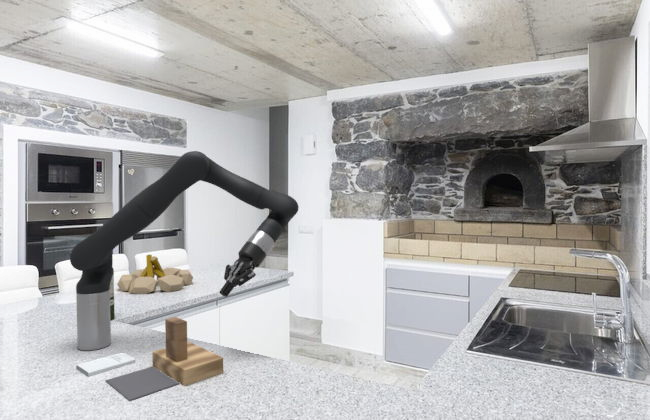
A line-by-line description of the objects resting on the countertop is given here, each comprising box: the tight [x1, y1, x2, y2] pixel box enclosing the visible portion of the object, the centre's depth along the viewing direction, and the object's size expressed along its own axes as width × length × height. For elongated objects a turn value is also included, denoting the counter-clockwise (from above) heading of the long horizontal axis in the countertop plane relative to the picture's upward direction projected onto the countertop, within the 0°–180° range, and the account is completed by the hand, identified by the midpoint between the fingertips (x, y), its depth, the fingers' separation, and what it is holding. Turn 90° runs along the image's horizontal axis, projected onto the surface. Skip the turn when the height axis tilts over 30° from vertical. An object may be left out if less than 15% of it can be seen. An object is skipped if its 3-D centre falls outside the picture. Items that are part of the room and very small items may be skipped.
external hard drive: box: [75, 352, 136, 377], centre depth 118 cm, size 2×8×12 cm
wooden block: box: [151, 341, 224, 387], centre depth 115 cm, size 18×11×4 cm, turn 46°
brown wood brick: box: [164, 316, 188, 362], centre depth 113 cm, size 6×3×10 cm, turn 46°
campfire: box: [116, 254, 194, 295], centre depth 219 cm, size 35×34×17 cm
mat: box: [105, 366, 180, 402], centre depth 107 cm, size 15×12×1 cm
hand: (222, 294), depth 123 cm, fingers closed
